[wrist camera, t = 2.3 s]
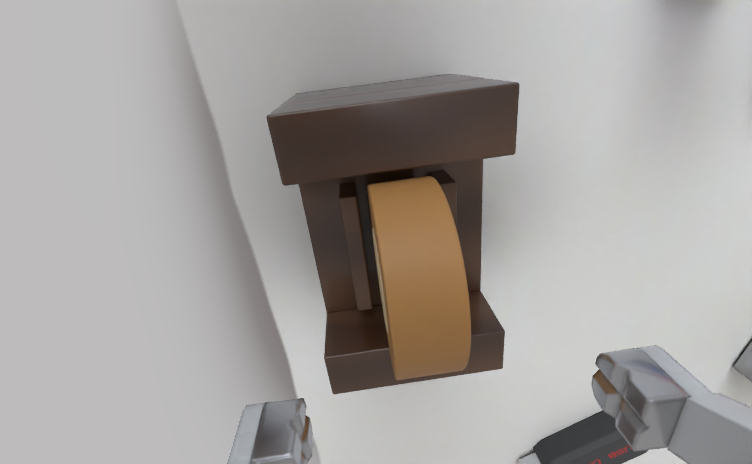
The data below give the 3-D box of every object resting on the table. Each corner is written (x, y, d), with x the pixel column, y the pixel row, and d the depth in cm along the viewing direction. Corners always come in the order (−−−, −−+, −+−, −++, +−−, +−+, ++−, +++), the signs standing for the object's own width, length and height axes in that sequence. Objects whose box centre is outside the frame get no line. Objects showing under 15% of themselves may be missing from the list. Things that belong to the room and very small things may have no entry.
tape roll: (426, 292, 20) (472, 417, 13) (380, 298, 20) (400, 429, 13) (418, 154, 17) (474, 223, 10) (362, 162, 17) (376, 237, 10)
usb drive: (636, 428, 37) (657, 454, 35) (532, 475, 39) (545, 503, 37) (622, 401, 35) (644, 427, 32) (513, 453, 37) (525, 481, 35)
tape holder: (454, 276, 27) (503, 369, 19) (335, 293, 27) (332, 395, 18) (450, 73, 21) (520, 82, 13) (295, 93, 20) (265, 115, 12)
